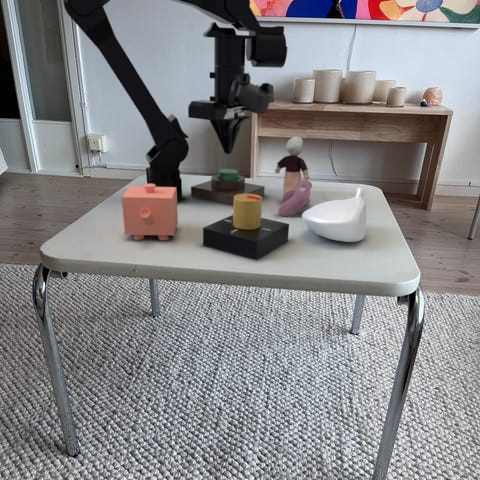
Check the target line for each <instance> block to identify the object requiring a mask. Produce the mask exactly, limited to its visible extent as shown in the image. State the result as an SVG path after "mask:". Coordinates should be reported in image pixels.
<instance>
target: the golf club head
mask: <svg viewBox="0 0 480 480" xmlns="http://www.w3.org/2000/svg"><path fill="white" fill-rule="evenodd" d="M364 194H365V189H364V187H357V188H356V193H355V196H354V197H352V198H348V199H332V200H328V201H324V202H320V203H317V204H315V205H312V206H311V207H310V208H308V209H306V210H305V211H303V212H302V214H301V218H302V220H303V222H304V224H305V225H306V226H307V228H308V229H309V230H311V232H313V233H314V234H316V235H318V236H321V237H322V238H325V239H329V240H333V241H338V242H339V241H340V242H344V243H346V242H347V243H355V242H360V241H362V240H363V239H364V238H365V236H366V233H367V207H366V202H365V200H364V198H363V196H364Z"/></svg>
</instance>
